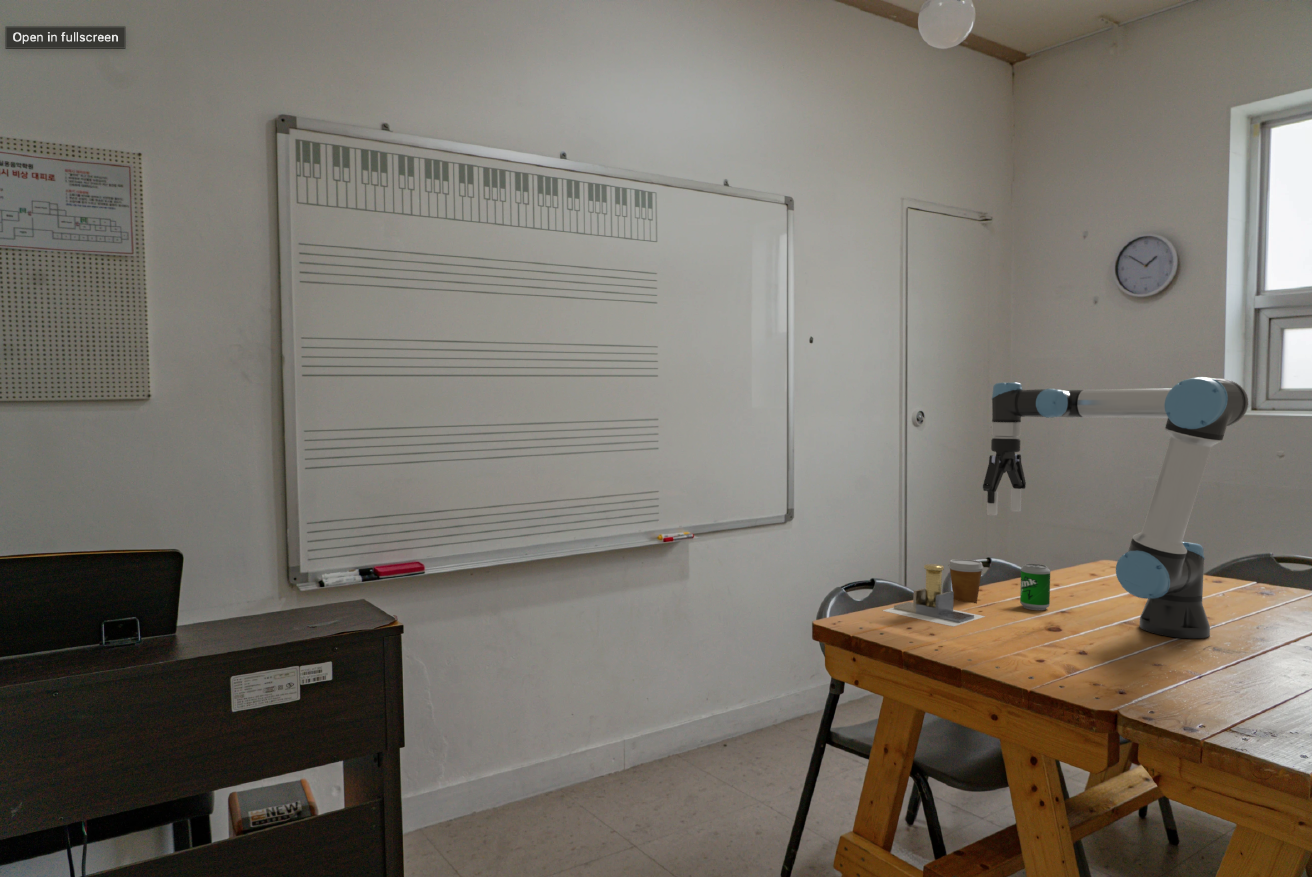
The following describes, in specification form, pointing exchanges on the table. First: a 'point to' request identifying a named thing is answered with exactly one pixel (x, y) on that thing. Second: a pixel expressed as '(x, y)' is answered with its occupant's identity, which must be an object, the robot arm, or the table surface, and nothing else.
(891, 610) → the board
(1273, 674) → the table surface
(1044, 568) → the soda can
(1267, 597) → the table surface
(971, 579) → the disposable coffee cup
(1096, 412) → the robot arm
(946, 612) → the hinge
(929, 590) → the pin
